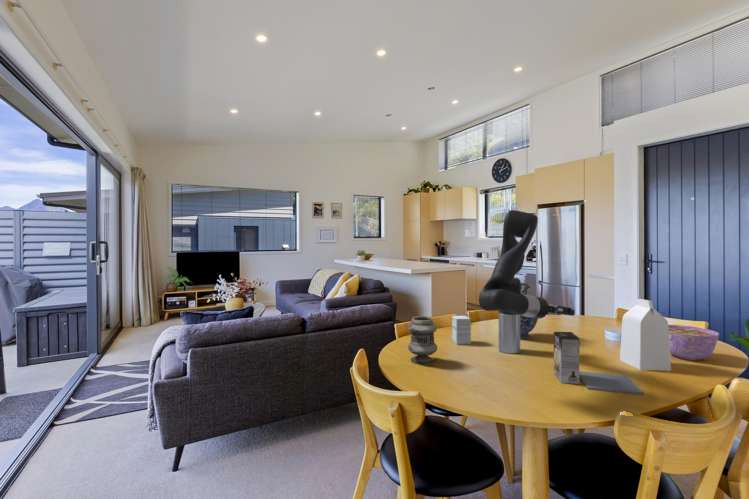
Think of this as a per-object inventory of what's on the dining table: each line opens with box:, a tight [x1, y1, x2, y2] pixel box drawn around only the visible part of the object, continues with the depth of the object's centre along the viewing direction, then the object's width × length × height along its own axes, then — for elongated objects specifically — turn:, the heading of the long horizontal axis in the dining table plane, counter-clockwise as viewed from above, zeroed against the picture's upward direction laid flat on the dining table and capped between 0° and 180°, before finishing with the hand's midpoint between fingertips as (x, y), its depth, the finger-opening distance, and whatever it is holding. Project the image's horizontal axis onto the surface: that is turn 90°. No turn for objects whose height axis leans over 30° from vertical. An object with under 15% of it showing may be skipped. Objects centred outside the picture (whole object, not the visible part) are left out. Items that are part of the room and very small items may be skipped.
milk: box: [619, 298, 672, 372], centre depth 143 cm, size 12×12×26 cm
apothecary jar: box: [407, 315, 438, 365], centre depth 151 cm, size 12×12×18 cm
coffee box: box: [553, 331, 581, 385], centre depth 129 cm, size 9×6×16 cm
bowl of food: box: [668, 324, 720, 361], centre depth 152 cm, size 20×20×12 cm
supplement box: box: [451, 315, 472, 346], centre depth 178 cm, size 7×7×13 cm
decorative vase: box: [520, 282, 539, 341], centre depth 187 cm, size 21×19×28 cm
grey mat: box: [579, 370, 645, 396], centre depth 125 cm, size 16×16×1 cm
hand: (562, 312), depth 132 cm, fingers open, 8 cm apart
